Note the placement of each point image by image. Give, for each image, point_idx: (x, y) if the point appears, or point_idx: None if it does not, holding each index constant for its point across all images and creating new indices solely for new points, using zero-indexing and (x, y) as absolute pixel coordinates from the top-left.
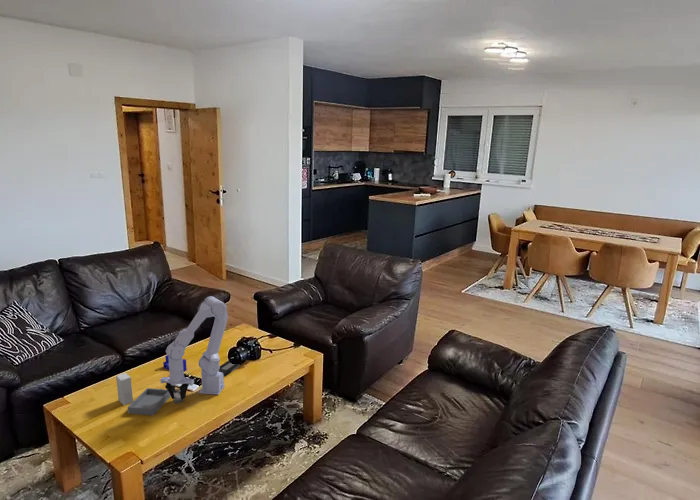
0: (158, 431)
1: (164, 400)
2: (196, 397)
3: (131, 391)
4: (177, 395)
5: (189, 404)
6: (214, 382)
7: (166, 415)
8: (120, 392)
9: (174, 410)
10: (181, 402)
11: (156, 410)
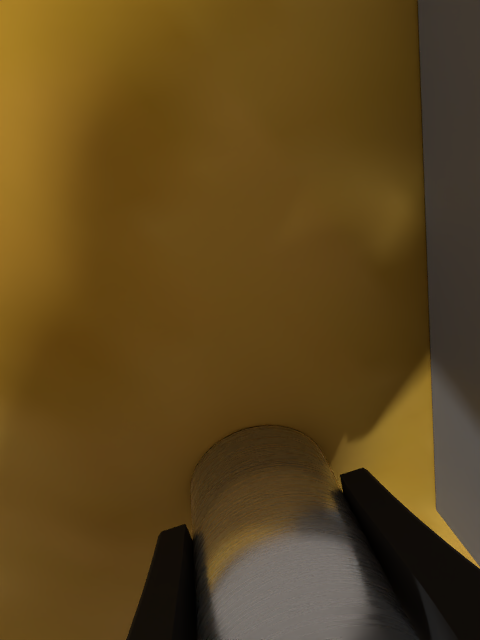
0: None
1: (462, 389)
2: (96, 626)
3: None
4: (251, 591)
5: (35, 497)
6: None
7: (131, 37)
8: None
9: (123, 269)
10: (192, 477)
11: (443, 75)
